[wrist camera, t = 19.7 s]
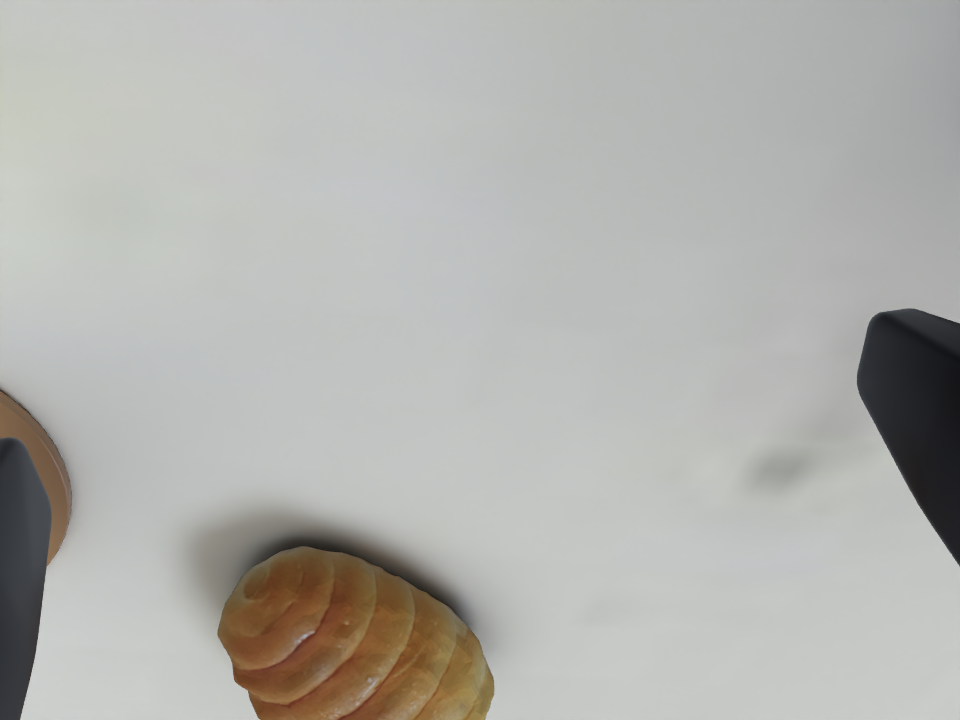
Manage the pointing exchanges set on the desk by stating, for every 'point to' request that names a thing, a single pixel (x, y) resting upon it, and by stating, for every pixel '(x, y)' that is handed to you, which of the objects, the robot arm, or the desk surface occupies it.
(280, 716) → the pastry
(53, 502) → the coaster
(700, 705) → the desk surface
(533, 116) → the desk surface
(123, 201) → the desk surface
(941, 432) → the robot arm
